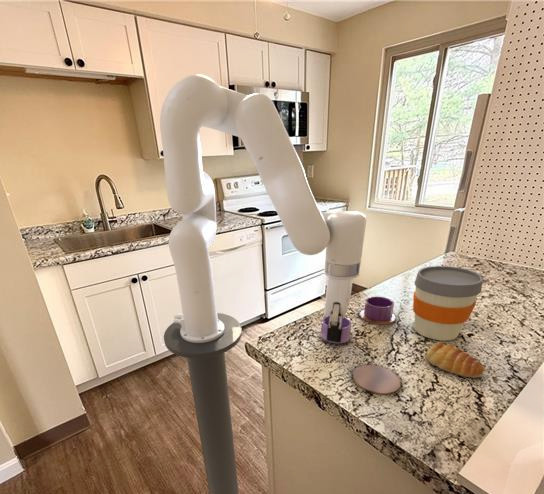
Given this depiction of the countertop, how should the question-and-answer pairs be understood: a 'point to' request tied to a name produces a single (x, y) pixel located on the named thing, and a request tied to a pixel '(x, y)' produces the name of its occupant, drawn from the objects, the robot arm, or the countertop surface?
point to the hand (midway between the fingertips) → (335, 332)
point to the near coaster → (376, 379)
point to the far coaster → (376, 321)
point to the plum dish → (378, 308)
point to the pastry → (454, 360)
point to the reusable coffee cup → (444, 300)
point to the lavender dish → (345, 327)
